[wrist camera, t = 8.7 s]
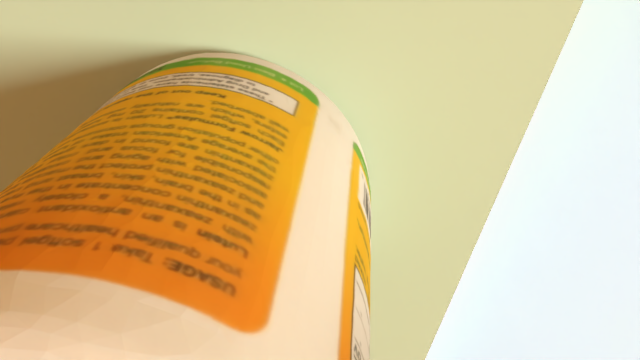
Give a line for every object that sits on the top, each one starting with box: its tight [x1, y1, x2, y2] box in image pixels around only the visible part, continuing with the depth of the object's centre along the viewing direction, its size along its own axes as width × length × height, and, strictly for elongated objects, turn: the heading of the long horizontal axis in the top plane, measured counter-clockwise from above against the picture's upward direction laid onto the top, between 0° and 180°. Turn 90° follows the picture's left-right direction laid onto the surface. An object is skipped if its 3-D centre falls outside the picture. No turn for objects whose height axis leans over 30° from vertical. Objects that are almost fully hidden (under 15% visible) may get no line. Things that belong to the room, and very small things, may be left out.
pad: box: [0, 0, 583, 360], centre depth 11 cm, size 10×10×1 cm
